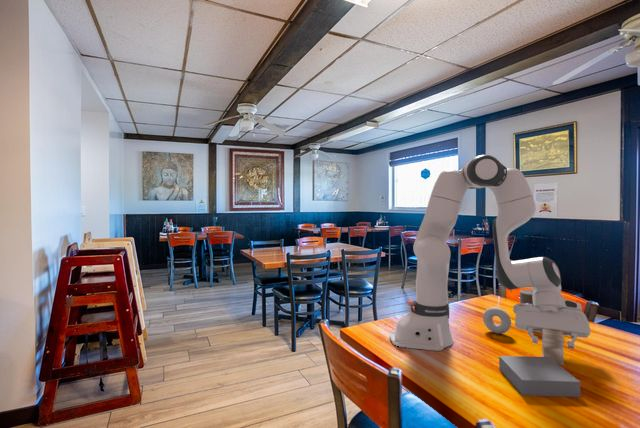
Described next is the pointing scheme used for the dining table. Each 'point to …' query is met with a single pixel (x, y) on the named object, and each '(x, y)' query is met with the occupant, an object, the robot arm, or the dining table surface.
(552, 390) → the grey plinth
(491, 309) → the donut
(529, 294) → the pillar candle
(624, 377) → the dining table surface
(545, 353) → the grey upright block
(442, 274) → the robot arm
